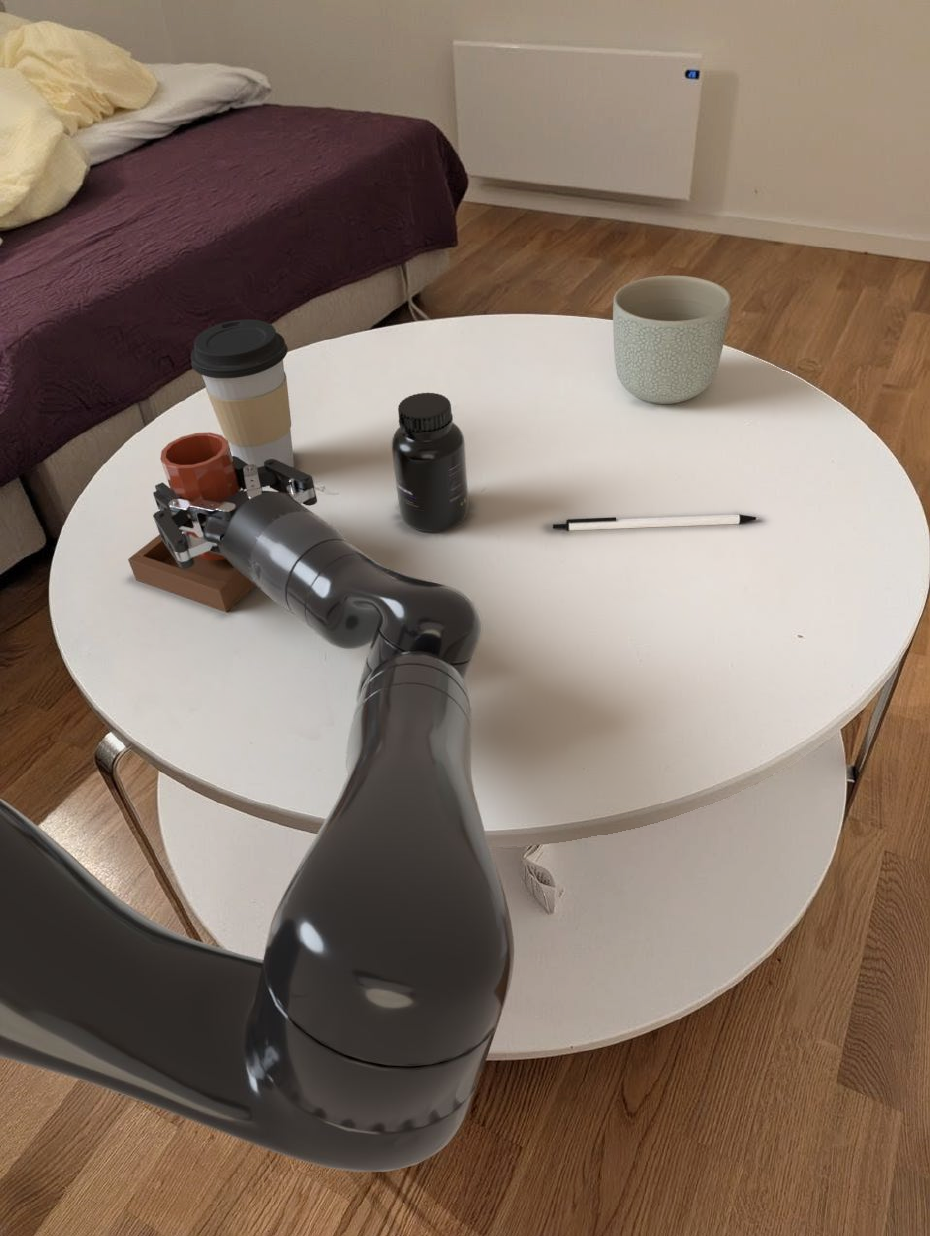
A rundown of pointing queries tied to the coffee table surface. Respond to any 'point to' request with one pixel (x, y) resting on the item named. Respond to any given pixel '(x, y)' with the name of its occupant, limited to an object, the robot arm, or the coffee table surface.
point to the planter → (669, 336)
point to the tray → (190, 576)
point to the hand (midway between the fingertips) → (193, 478)
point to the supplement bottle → (429, 464)
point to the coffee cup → (247, 388)
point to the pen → (652, 522)
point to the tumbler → (201, 471)
